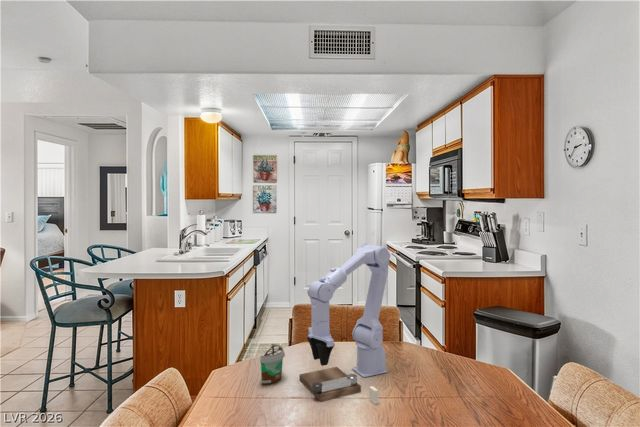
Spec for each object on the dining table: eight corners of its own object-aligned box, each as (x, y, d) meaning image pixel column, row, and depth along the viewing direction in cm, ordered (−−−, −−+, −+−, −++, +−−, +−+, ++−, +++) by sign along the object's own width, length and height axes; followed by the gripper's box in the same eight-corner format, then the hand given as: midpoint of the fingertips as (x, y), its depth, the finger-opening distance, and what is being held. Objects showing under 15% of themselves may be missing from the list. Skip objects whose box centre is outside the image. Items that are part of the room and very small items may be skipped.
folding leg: (353, 380, 131) (353, 373, 131) (359, 384, 129) (359, 377, 128) (310, 390, 125) (310, 382, 125) (315, 394, 122) (315, 387, 122)
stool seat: (336, 372, 143) (336, 366, 143) (360, 391, 128) (360, 385, 128) (299, 380, 137) (299, 374, 137) (320, 401, 122) (320, 395, 122)
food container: (278, 389, 131) (278, 357, 130) (260, 387, 132) (260, 356, 132) (289, 372, 143) (289, 344, 142) (272, 371, 144) (272, 343, 144)
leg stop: (372, 399, 124) (372, 386, 124) (378, 403, 121) (378, 390, 121) (369, 400, 123) (369, 386, 123) (374, 404, 121) (374, 391, 121)
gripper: (299, 315, 135) (300, 356, 136) (318, 327, 122) (319, 372, 123) (319, 312, 138) (319, 352, 139) (339, 324, 125) (339, 368, 126)
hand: (320, 361), depth 131 cm, fingers open, 5 cm apart
